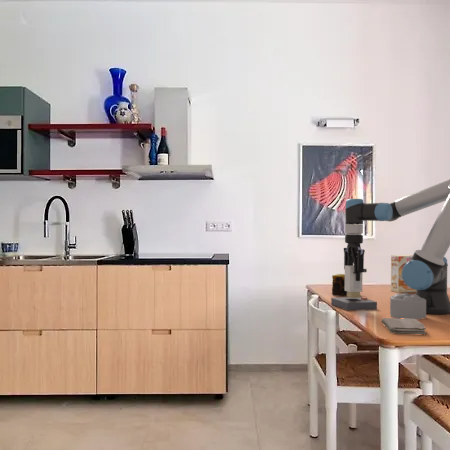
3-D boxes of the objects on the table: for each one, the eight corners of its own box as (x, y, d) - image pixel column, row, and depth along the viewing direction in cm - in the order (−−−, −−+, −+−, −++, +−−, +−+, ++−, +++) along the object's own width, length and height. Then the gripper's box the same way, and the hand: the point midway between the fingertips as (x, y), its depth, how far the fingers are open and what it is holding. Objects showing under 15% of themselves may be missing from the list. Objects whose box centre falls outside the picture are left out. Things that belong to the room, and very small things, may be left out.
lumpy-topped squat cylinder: (389, 313, 184) (390, 291, 184) (424, 315, 180) (424, 293, 180) (390, 318, 174) (391, 295, 174) (427, 320, 170) (427, 297, 170)
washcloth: (391, 335, 148) (391, 326, 148) (380, 323, 166) (380, 315, 166) (429, 337, 147) (429, 327, 147) (413, 325, 165) (413, 316, 165)
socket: (376, 308, 192) (376, 300, 192) (347, 310, 189) (347, 301, 189) (359, 303, 206) (359, 294, 206) (331, 304, 202) (331, 296, 202)
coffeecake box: (398, 292, 238) (398, 256, 238) (390, 291, 245) (390, 255, 245) (422, 291, 242) (422, 255, 242) (413, 290, 249) (413, 254, 249)
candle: (350, 296, 225) (350, 276, 225) (331, 294, 231) (331, 275, 231) (358, 294, 233) (358, 275, 233) (339, 292, 239) (339, 273, 239)
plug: (362, 295, 201) (363, 265, 201) (368, 297, 197) (368, 266, 197) (344, 296, 199) (344, 265, 199) (349, 298, 195) (350, 266, 195)
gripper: (373, 234, 190) (372, 290, 190) (351, 233, 207) (350, 284, 207) (357, 234, 188) (356, 290, 188) (336, 233, 205) (335, 285, 205)
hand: (353, 287), depth 198 cm, fingers closed on plug, 4 cm apart
